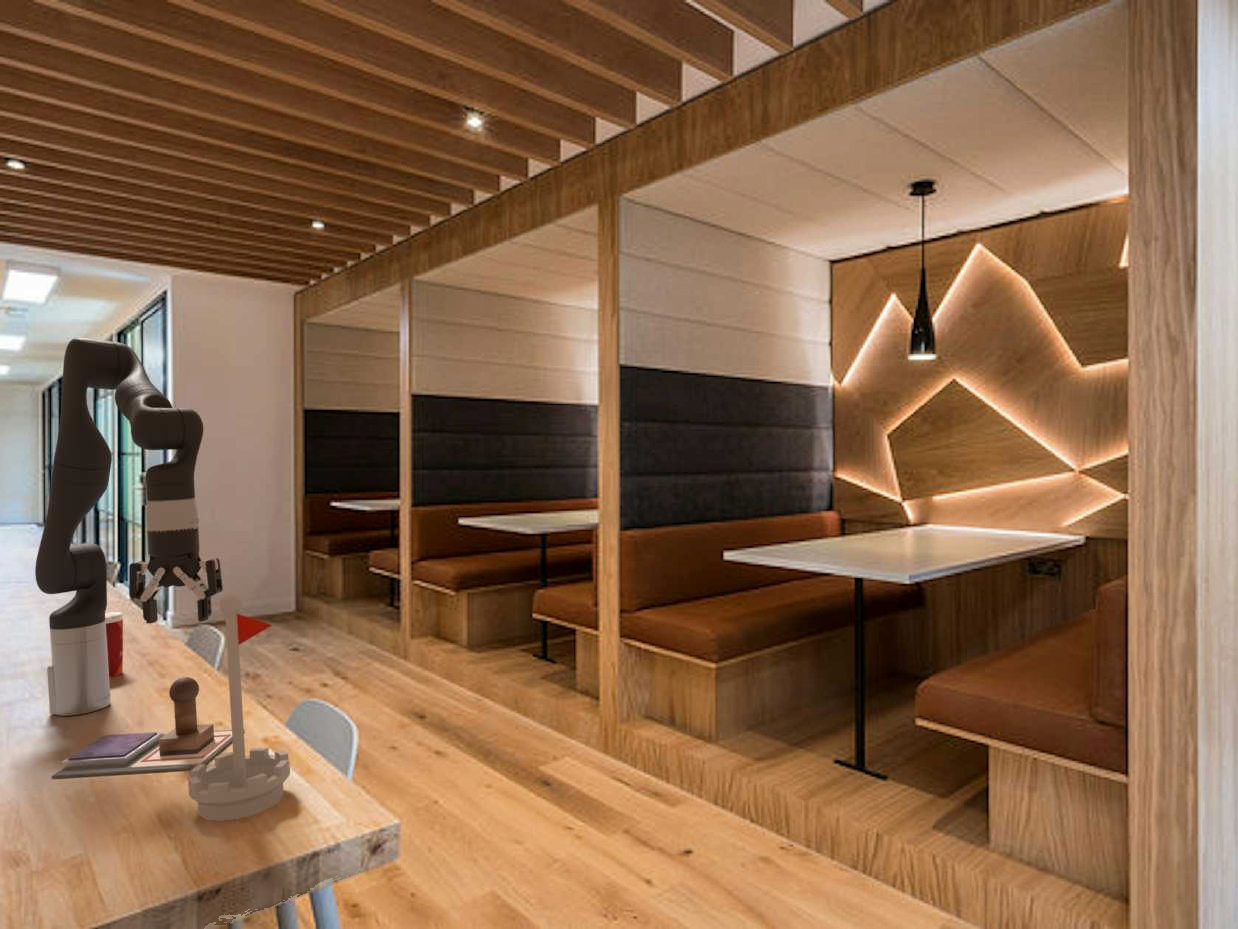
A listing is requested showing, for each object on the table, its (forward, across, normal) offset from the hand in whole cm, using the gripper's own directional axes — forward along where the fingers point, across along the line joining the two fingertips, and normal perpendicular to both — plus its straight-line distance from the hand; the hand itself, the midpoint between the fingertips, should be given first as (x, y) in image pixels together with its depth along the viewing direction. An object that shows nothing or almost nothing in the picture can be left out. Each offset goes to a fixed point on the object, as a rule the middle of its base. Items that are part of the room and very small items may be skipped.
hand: (178, 621), depth 130 cm
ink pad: (+22, -11, -1) cm, 25 cm away
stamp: (+21, +1, -1) cm, 21 cm away
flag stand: (+22, +19, -22) cm, 36 cm away
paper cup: (+23, -43, +51) cm, 71 cm away
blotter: (+22, -5, -1) cm, 23 cm away
